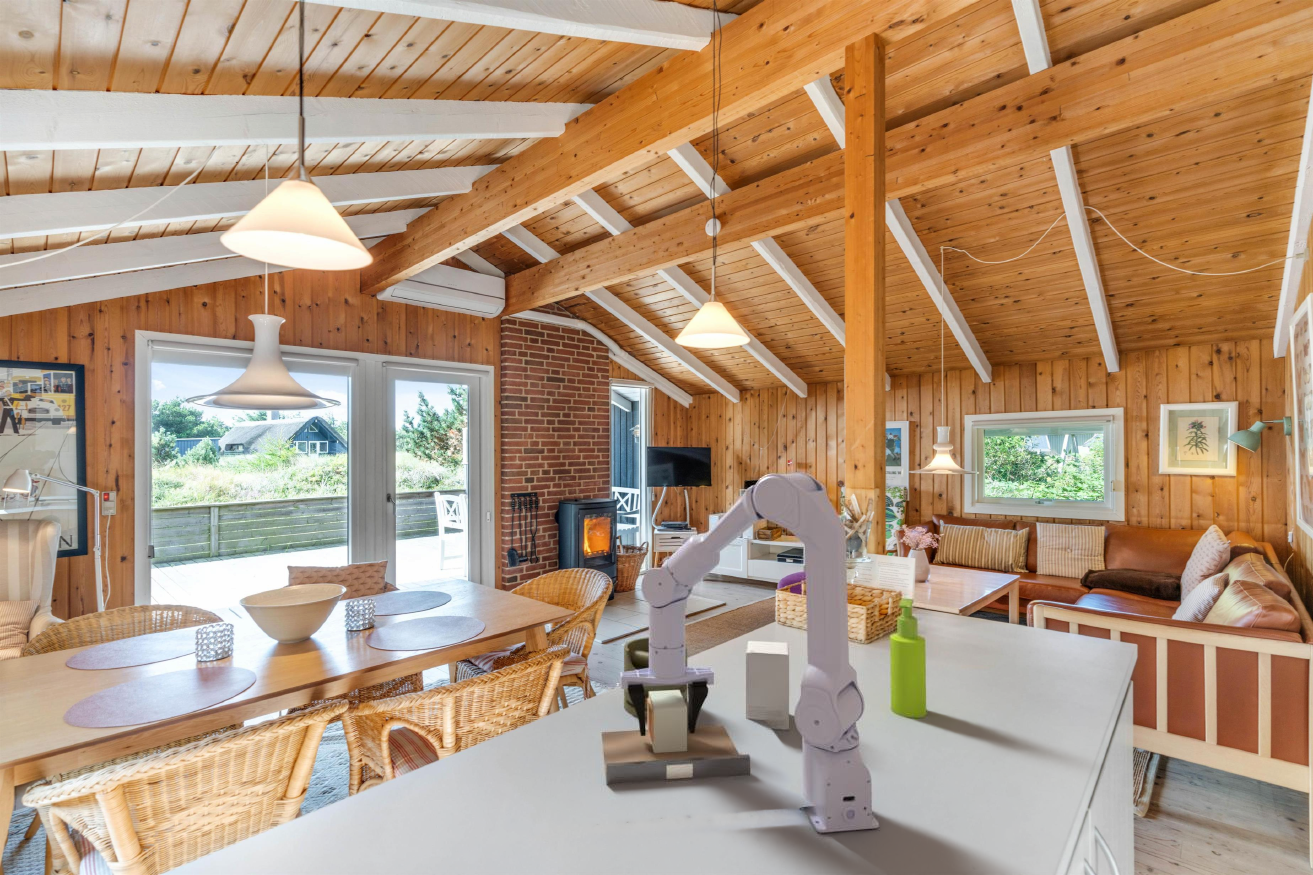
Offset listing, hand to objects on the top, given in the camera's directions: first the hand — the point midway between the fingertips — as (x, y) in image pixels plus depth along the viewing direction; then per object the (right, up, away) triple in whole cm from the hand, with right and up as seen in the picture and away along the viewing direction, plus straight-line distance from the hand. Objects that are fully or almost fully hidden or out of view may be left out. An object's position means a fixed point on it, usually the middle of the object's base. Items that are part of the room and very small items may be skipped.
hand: (667, 731), depth 97 cm
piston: (-2, -4, +14) cm, 14 cm away
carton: (0, -1, 0) cm, 2 cm away
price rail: (+2, -1, -11) cm, 11 cm away
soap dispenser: (+44, -4, +15) cm, 46 cm away
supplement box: (+18, -4, +11) cm, 21 cm away
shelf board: (+1, -3, -4) cm, 5 cm away
